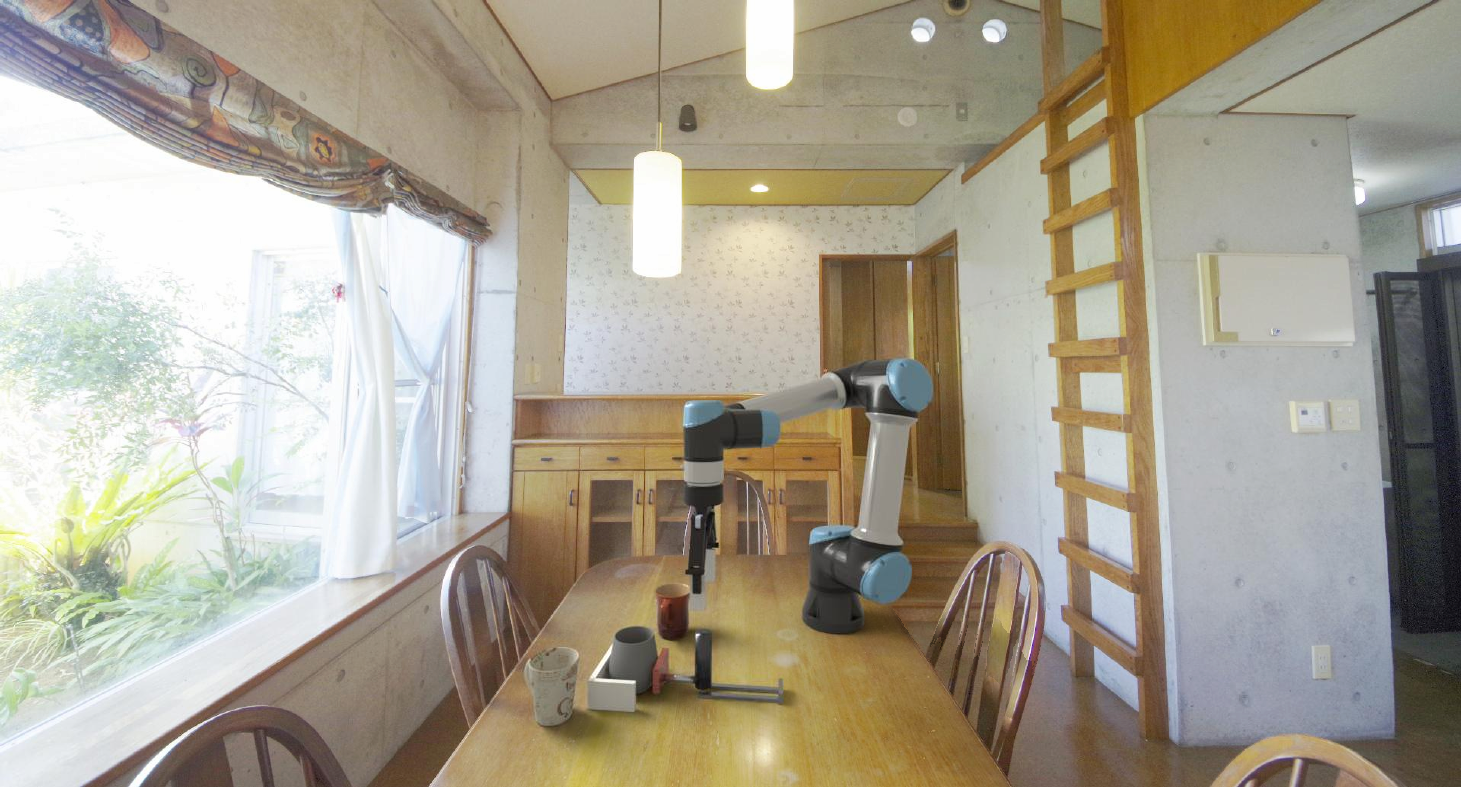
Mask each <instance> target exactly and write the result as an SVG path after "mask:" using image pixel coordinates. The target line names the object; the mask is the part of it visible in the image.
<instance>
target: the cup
mask: <svg viewBox="0 0 1461 787" xmlns="http://www.w3.org/2000/svg"><path fill="white" fill-rule="evenodd" d="M612 644H613V645H612ZM612 644H611V645H612V651H611V657H610V663H609V672H610V676H611V679H615V680H631V681H636V695H639V694H642V693H644V692H645V691H647V690H648V689H649V688H650V687H651V686H652V685H653V668H654V666H655V663H656V661H657V659H658V657H659V654H658V649H657V643H656V635H655V632H654V630H653V629H652V628H650V627H647V626H642V625H631V626H627V627H624V628H621V629H619V630H618V631H616V632H615V633H614V636H613V640H612Z"/></svg>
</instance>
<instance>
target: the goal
mask: <svg viewBox="0 0 1461 787" xmlns="http://www.w3.org/2000/svg"><path fill="white" fill-rule="evenodd" d="M612 645H613V643H612V644H610V647H609V648H608V650H607V652H605V654H604V656H603V658H602V659H601V661H600V662H599V663H598V665H597V666H596V668H595V669H594V670H593V672H592V674H591V675H590V677H589V679H588V680H587V709H588V710H597V711H614V712H626V713H627V712H628V713H635V711H636V710H637V694H636V681H631V680H615V679H612V678H611V676H610V672H609V663H610V657H611V651H612Z"/></svg>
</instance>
